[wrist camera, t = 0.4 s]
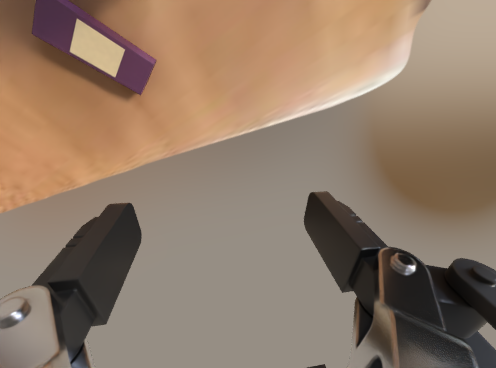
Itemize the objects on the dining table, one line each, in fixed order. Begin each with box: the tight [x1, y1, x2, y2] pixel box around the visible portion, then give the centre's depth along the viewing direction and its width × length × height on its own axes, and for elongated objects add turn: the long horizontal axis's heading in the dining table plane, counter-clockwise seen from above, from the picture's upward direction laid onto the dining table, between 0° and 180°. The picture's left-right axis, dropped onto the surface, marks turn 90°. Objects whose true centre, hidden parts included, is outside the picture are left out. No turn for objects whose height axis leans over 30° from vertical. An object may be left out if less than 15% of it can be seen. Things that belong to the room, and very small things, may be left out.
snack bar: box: [32, 0, 156, 95], centre depth 26 cm, size 12×5×3 cm, turn 51°
